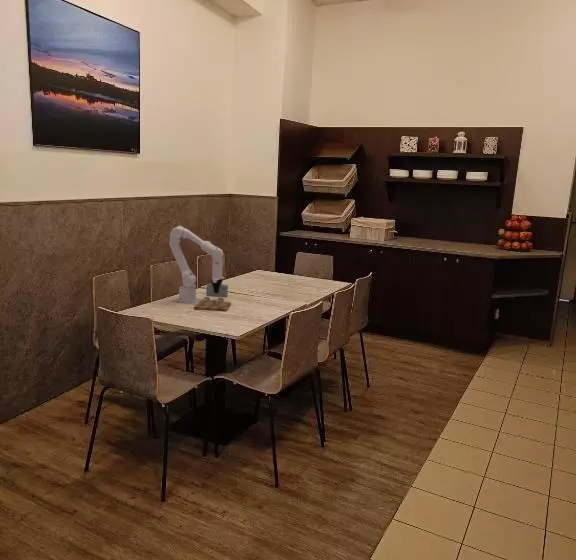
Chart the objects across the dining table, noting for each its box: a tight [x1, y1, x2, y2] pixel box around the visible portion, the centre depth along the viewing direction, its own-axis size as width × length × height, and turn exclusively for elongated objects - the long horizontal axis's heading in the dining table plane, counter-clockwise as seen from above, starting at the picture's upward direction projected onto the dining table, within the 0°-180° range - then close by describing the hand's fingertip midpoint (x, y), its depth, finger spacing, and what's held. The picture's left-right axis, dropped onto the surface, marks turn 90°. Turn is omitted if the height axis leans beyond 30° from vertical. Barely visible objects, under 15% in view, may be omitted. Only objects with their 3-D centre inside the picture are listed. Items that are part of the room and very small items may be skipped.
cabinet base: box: [193, 296, 232, 312], centre depth 283 cm, size 18×14×5 cm
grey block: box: [205, 283, 229, 299], centre depth 293 cm, size 12×4×7 cm, turn 86°
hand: (216, 292), depth 294 cm, fingers closed on grey block, 3 cm apart
